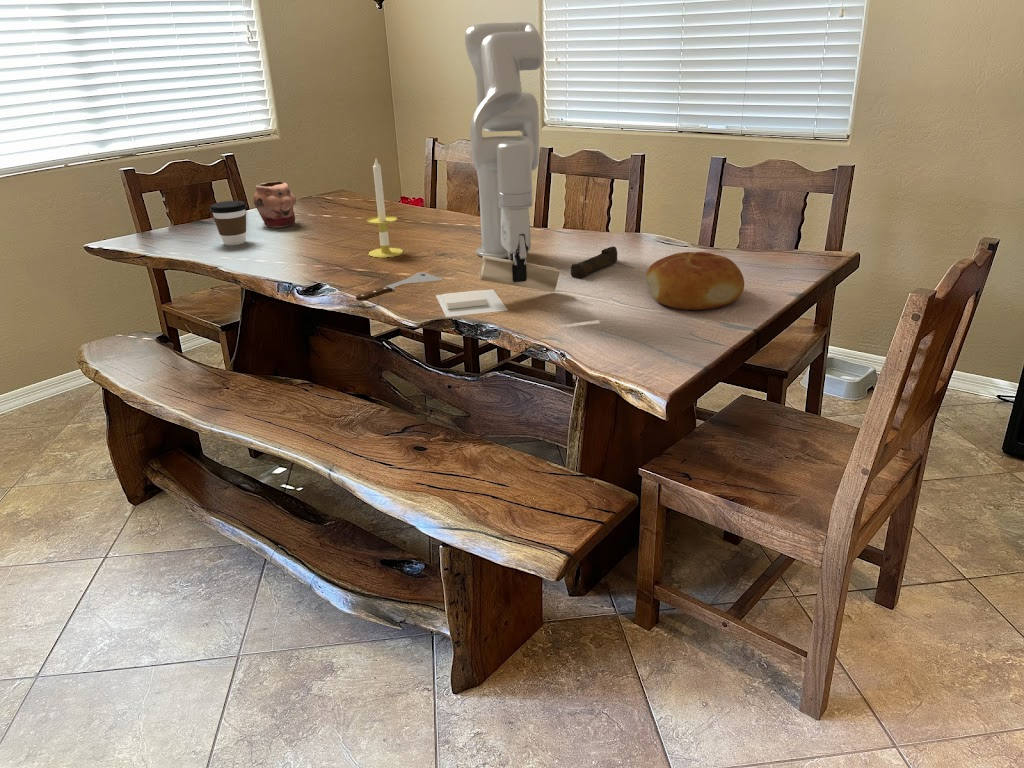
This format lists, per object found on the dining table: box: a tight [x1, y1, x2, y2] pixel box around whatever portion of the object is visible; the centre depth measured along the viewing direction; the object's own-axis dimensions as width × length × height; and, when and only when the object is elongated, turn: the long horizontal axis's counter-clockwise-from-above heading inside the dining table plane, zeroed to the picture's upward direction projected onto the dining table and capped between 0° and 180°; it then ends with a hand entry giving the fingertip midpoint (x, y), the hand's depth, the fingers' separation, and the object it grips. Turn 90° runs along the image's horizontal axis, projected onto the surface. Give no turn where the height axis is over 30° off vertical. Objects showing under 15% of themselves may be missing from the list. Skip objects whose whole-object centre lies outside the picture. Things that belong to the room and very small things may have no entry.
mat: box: [435, 288, 509, 318], centre depth 181 cm, size 16×14×1 cm
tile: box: [441, 289, 487, 310], centre depth 180 cm, size 7×2×9 cm
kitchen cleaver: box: [355, 271, 443, 301], centre depth 194 cm, size 24×1×10 cm
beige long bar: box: [478, 256, 561, 293], centre depth 180 cm, size 3×18×5 cm, turn 104°
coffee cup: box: [209, 200, 248, 246], centre depth 239 cm, size 11×11×12 cm
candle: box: [366, 158, 404, 259], centre depth 219 cm, size 10×10×27 cm
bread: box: [645, 251, 745, 311], centre depth 179 cm, size 23×23×10 cm
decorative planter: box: [253, 181, 297, 228], centre depth 260 cm, size 20×12×14 cm, turn 51°
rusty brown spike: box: [570, 246, 618, 280], centre depth 202 cm, size 19×4×5 cm, turn 138°
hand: (517, 278), depth 181 cm, fingers closed on beige long bar, 2 cm apart
